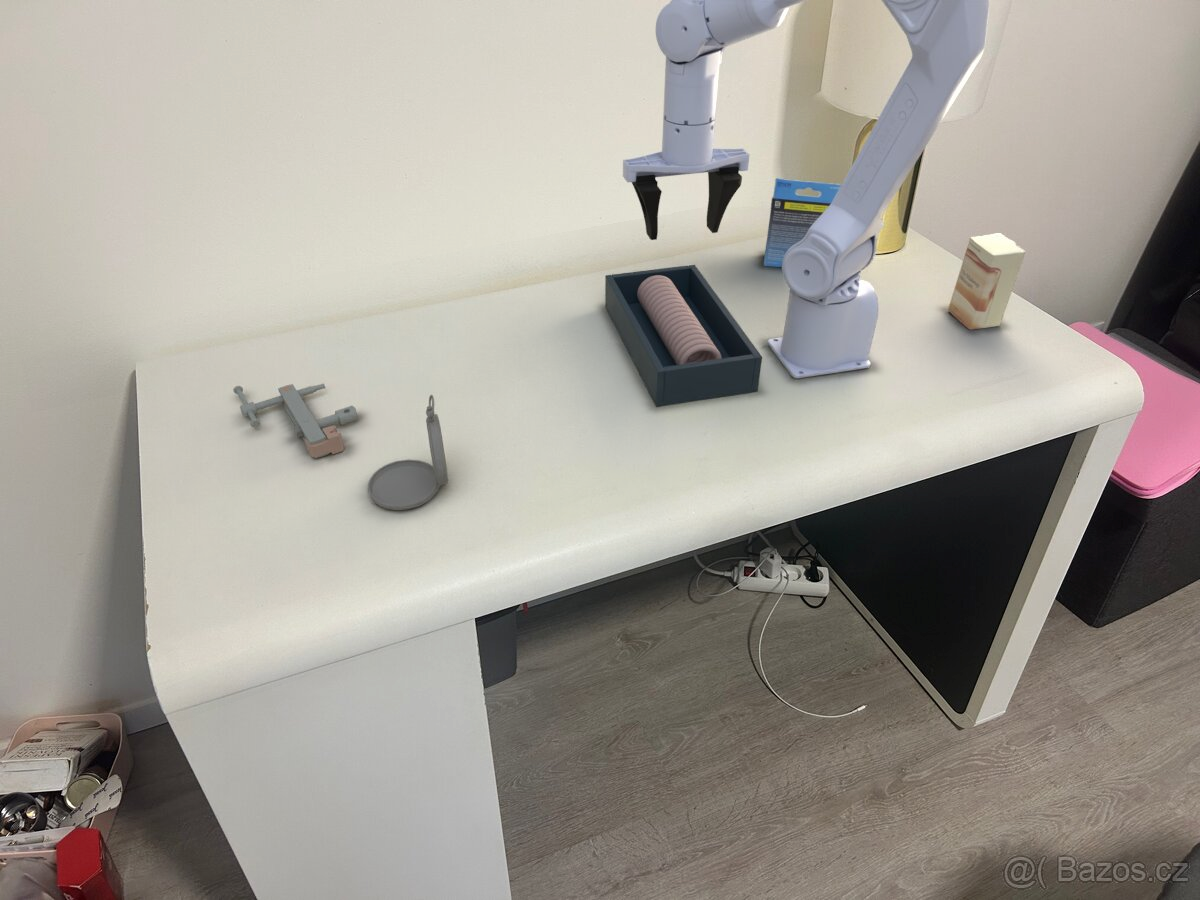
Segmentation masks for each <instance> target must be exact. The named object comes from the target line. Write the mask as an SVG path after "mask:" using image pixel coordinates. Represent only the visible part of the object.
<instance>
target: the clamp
mask: <svg viewBox="0 0 1200 900" xmlns="http://www.w3.org/2000/svg"><path fill="white" fill-rule="evenodd" d="M324 389H326V385H325V383H321V384H317V385H313V386H311V385H310V386H307V387H303V388H301V389H297V388H296V387H295V385H294V384H293V383H292V384H291V383H290V384H287V385H284V386H283V385H282V386H281V387H278V388H277V390H278V393H279V394H280V395H278V396H275V397H271V398H268V399H265V400H262V401H259V402H254V401H251V402H248V400H247V398H246V396H245V395H244V388H243V386H241V385H236V386H234V387H233V389H232V390H233V392H234V394H236V395H237V396H238V398H239V400H240V402H241V404H240V406H239V409H240V412H241V414H242V416H243V417H244V418H248V417H249V419H250V426H251V427H252V428H258V427H260V426H261V420H260V419H258V418H257V417H256V415H257V414H258V412H259V411H262V410H265V409H267V408H270V407H274V406H277V405H280V404H282V406H283V408H284V409H285V411H286V413H287V415H288V416H289V418H290V420H291V421H292V423H293V425H294V427H293V430H294V433H295V435H296V437H297V438H300V437H301V438H302V440H303V442H304V443H305V446H306V450H307V452H308V453H309V456H310V457H311V458H314V459H319V458H322V457H325V456H327V455H329V454H331V455H336V454H338V453H339V454H340V453H341V452H343V451H344V450H345V445H344V442H343V439H342V434H341V432H338V430H337V424H340V426H343V425H346V424H349V423H352V422H355V421H357V420H359V415H358V412H357V408H356V407H355V406H354V405H349V406H346V407H343V408H340V409H337V410H335V411H334V414H331V415H328V416H325V417H322V418H319V419H315V417H314V416H313V414H312V413H311V411H310V409H309V407H308V406H307V405H306V403H305V402H304V401H305V400H303V398H302V397H305V396H308V395H311V394H314V393H315V392H317V391H320V390H324Z"/></svg>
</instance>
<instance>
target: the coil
mask: <svg viewBox="0 0 1200 900" xmlns="http://www.w3.org/2000/svg"><path fill="white" fill-rule="evenodd" d="M637 297H638V300H639V302H640V303H641V305H642V307H643V309H644V310H645V312H646V314H647V315H648V317H649V319H650V321H651V322H652V324H653V326H654V327H655V329H656V331H657V332H658V334H659V336H660V337H661V339H662V341H663V343H664V345H665V346H666V348H667V350H668V351H669V353H670V354H671V356H672V358H673V359H674V361H675V363H676V364H677V365H681V364H688V363H695V362H702V361H709V360H716V359H722V358H721V354H720V352H719V351H718V349H717V348H716V346H715V345H714V344H713V342H712V340H711V339H710V337H709V336H708V335H707V333H706V331H705V330H704V328H703V327H702V326H701V324H700V323H699V321H698V320H697V318H696V317H695V315H694V314H693V312H692V311H691V309H690V308H689V306H688V305H687V303H686V302H685V300H684V299H683V297H682V296H681V294H680V293H679V292H678V290H677V289H676V287H675V285H674V284H673V282H672V281H671V280H670V279H669V278H667V277H665V276H661V275H655V276H651V277H649V278H647V279H646V280H644V281H643V282H642V283H641V285H640V286H639V288H638V292H637Z"/></svg>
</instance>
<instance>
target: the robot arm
mask: <svg viewBox="0 0 1200 900" xmlns="http://www.w3.org/2000/svg"><path fill="white" fill-rule="evenodd" d="M803 2H807V0H670V1H669V3H667V4H666V5H665V6H663V8H662V9H661V10H660V11H659V13H658V15H657V18H656V22H655V38H656V43H657V45H658V48H659V50H660V51H661V52H662V54H663V55H664V57H665V65H664V66H665V68H664V92H663V94H664V95H663V113H662V114H663V117H662V118H663V119H662V121H663V122H662V137H661V139H662V142H661V144H662V145H661V151H659V152H654V153H650V154H646V155H642V156H639V157H635V158H628V159H622V177H623V179H624V180H625V181H626V183H631V185H632V187H633V189H634V191H635V193H636V196H637V199H638V201H639V204H640V208H641V211H642V215H643V219H644V223H645V231H646V235H647V237H648V238H649V240H651V241H656V240H657V239H658V233H659V232H658V231H659V222H658V221H659V208H660V201H661V197H662V193H663V191H662V190H661V188H660V187H659V186H658V185H659V183H658V180H656V178H664V177H673V176H683V175H694V174H704V173H707V176H708V179H707V180H708V202H707V211H706V227H707V229H708V230H709V231H710V232H711V233H712V234H717V233H718V232H719V229H720V225H721V223H722V220H723V217H724V214H725V212H726V210H727V208H728V206H729V204H730V202H731V201H732V198H733V197H734V196H735V194H736V193H737V191H738V190H739V189H740V187H741V185H742V182H743V176H742V174H740V173H739V172H747V171H749V164H750V155H751V154H750V153H749V152H748V151H747V150H746V149H745V148H714V136H715V124H716V114H717V113H716V112H717V99H718V89H719V76H720V66H721V65H722V64H723V53H724V52H725V49H726V48H728V47H729V46H732V45H735V44H738V43H740V42H743V41H745V40H748V39H751V38H754V37H756V36H758V35H762V34H763V33H767V32H769V31H772V30H775V29H777V28H778V27H779V26H780V25H782V23H783V21H784V20H785V18H786V15H787V13H788V11H789V8H790V7H792V6H795V5H798V4H800V3H803ZM881 2H882V3H883V5H884V6H885V7H886V9H887V11H889V13H890V15H891V16H892V17H893V18H894V20H895V22H896V23H897V24H898V26H899V27H900V29H901V30H902V31H903V33H904V34H905V36H906V38H907V39H906V40H907V42H908V45H909V48H910V51H911V55H912V56H911V59H910V60H909V62H908V64H907V66H906V68H905V70H904V72H903V73H902V75H901V77H900V78H899V80H898V82H897V84H896V86H895V88H894V89H893V91H892V93H891V95H890V97H889V99H888V100H887V102H886V104H885V106H884V107H883V109H882V111H881V113H880V115H879V116H878V118H877V120H876V122H875V123H874V125H873V128H872V129H871V131H870V133H869V134H868V136H867V138H866V140H865V142H864V143H863V145H862V147H861V149H860V151H859V152H858V154H857V156H856V158H855V159H854V161H853V163H852V165H851V167H850V168H849V170H848V172H847V174H846V176H845V178H844V180H843V181H842V183H841V184H842V185H841V187H840V188H839V190H838V192H837V194H836V196H835V197H834V199H833V201H832V203H831V204H830V206H829V207H828V208H827V209H826V210H825V211H824V212H823V213H822V215H821V216H820V217H819V218H818V219H817V220H816V221H815V222H814V223H813V225H812V226H811V227H810V228H809V230H808V232H807V234H806V235H805V237H804V238H803V239H802V240H801V241H800V242H798V243H796V244H794V245H793V246H791V247H790V248H789V249H788V251H787V252H786V254H785V256H784V258H783V263H782V267H781V270H782V275H783V278H784V281H785V283H786V285H787V286H788V288H789V290H788V291H789V294H788V301H787V305H786V306H787V308H786V314H785V320H784V326H783V331H782V332H783V333H782V336H781V337H775V338H769V339H768V340H767V345H768V346H769V348H770V349H771V350H772V352H773V353H774V354H775V356H776V357H777V358H778V360H779V361H780V362H781V363H782V365H783V366H784V368H785V369H786V370H787V371H788V373H789V374H790V375H791V377H793V378H794V379H803V378H804V379H805V378H809V377H816V376H822V375H829V374H836V373H842V372H843V373H844V372H849V371H856V370H862V369H868V368H870V367H871V366H872V363H871V361H870V360H869V356H870V352H871V349H872V344H873V339H874V336H875V330H876V327H877V323H878V317H879V300H878V296H877V293H876V290H875V289H874V287H873V286H872V284H871V283H870V282H869V281H867V280H863V279H860V278H861V273H862V271H863V270H865V269H866V268H867V267H869V266H870V265H871V264H872V262H873V260H874V259H875V257H876V254H877V249H878V248H877V247H878V238H879V236H880V233H881V231H882V230H883V228H884V226H885V221H884V219H883V216H884V215H885V214H886V211H887V209H888V208H889V206H890V205H891V203H892V201H893V200H894V198H895V197H896V195H897V193H898V192H899V190H900V189H901V187H902V186H903V184H904V183H905V181H906V179H907V177H908V176H909V174H910V173H911V171H912V169H913V168H914V166H915V165H916V163H917V161H918V160H919V159H920V156H921V155H922V154H923V152H924V150H925V148H926V147H927V145H928V144H929V142H930V141H931V139H932V137H933V136H934V134H935V132H936V130H937V129H938V127H939V126H940V125H941V123H942V121H943V119H944V118H945V116H946V114H947V113H948V112H949V110H950V108H951V107H952V105H953V103H955V100H956V99H957V97H958V95H959V94H960V92H961V90H962V89H963V87H964V85H966V83H967V81H968V80H969V77H970V76H971V75H972V72H973V71H974V70H975V68H976V66H977V65H978V63H979V61H980V60H981V58H982V56H983V53H984V51H985V48H986V43H987V33H988V22H989V21H988V20H989V13H990V12H989V11H990V2H991V0H881Z"/></svg>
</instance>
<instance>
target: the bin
mask: <svg viewBox="0 0 1200 900" xmlns="http://www.w3.org/2000/svg"><path fill="white" fill-rule="evenodd" d="M655 275H661V276H665V277H667V278H669V279H670V280H671V281H672V282H673V284H674V285H675V287H676V289H677V290H678V292H679V293H680V294H681V296H682V297H683V299H684V300H685V302H686V303H687V305H688V306H689V308H690V309H691V311H692V312H693V314H694V315H695V317H696V318H697V320H698V321H699V323H700V324H701V326H702V327H703V328H704V330H705V331H706V333H707V335H708V336H709V337H710V339H711V340H712V342H713V344H714V345H715V346H716V348H717V349H718V351H719V352H720V354H721V358H722V359H716V360H709V361H702V362H695V363H688V364H681V365H677V364H676V363H675V361H674V359H673V358H672V356H671V354H670V353H669V351H668V350H667V348H666V346H665V345H664V343H663V341H662V339H661V337H660V336H659V334H658V332H657V331H656V329H655V327H654V326H653V324H652V322H651V321H650V319H649V317H648V315H647V314H646V312H645V310H644V309H643V307H642V305H641V303H640V302H639V300H638V297H637V292H638V288H639V286H640V285H641V283H642V282H643V281H644V280H646V279H647V278H649V277H651V276H655ZM604 277H605V278H604V281H605V282H604V283H605V285H604V289H605V290H604V292H605V294H604V297H605V299H604V300H605V302H604V303H605V304H604V307H605V310H606V311H607V313H608V316H609V318H610V320H611V321H612V323H613V325H614V328H615V330H616V332H617V333H618V335H619V337H620V339H621V341H622V343H623V345H624V347H625V349H626V351H627V352H628V355H629V356H630V359H631V361H632V363H633V364H634V366H635V368H636V370H637V372H638V373H639V377H640V378H641V380H642V383H643V384H644V385H645V388H646V390H647V392H648V394H649V396H650V398H651V400H652V402H653V404H654V405H655V407H656V408H659V407H665V406H673V405H679V404H686V403H691V402H692V403H693V402H698V401H705V400H711V399H717V398H724V397H731V396H737V395H744V394H751V393H757V392H758V391H759V385H760V376H761V370H762V362H763V355H761V353H760V352H759V350H758V348H757V347H756V346H755V345H754V344H753V342H752V340H751V339H750V338H749V337H748V335H747V334H746V332H745V331H744V330H743V329H742V327H741V326H740V325H739V323H738V321H737V320H736V319H735V317H734V316H733V314H731V312H730V311H729V309H728V308H727V306H726V305H725V304H724V302H723V301H722V299H721V298H720V297H719V295H718V294H717V293H716V292H715V290H714V289H713V288H712V286H711V285H710V284H709V281H708V280H707V279H706V278H705V277H704V275H703V274H702V273H701V271H700V270H699V268H698V267H697V266H696V264H689V265H681V266H680V265H679V266H671V267H664V268H655V269H645V270H640V271H639V270H638V271H637V270H636V271H631V272H630V271H629V272H622V273H613V274H606V275H605V276H604Z"/></svg>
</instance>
